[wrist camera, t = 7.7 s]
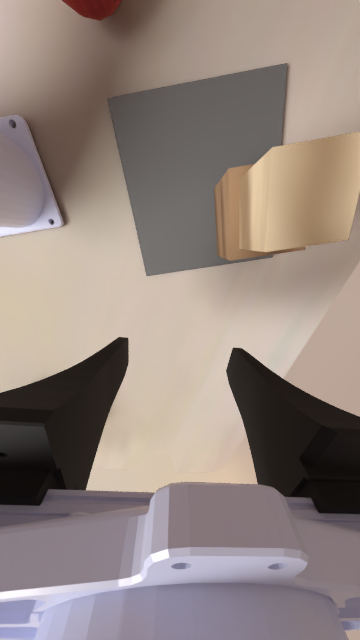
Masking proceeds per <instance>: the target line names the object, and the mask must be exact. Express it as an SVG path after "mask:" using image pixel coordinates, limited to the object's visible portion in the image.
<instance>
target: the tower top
mask: <svg viewBox="0 0 360 640" xmlns="http://www.w3.org/2000/svg"><path fill="white" fill-rule="evenodd" d="M253 165H254V164H251V165H245V166H240V167H234V168H229V169H228V170H227V171H226V173H225V174H224V175H223V177H222V178H221V180H220V191H221V218H222V244H223V258H224V259H227V260H230V261H232V260H239V259H246V258H252V257H259V256H265V255H272V254H279V253H285V252H292V251H298V250H305V247H306V246H304V247H297V248H291V249H284V250H277V251H271V252H260V251H252V250H245V249H239V179H240V178H241V177H242V176H243V175H244V174H245V173H246V172H247V171H248V170H249V169H250V168H251V167H252V166H253Z"/></svg>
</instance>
